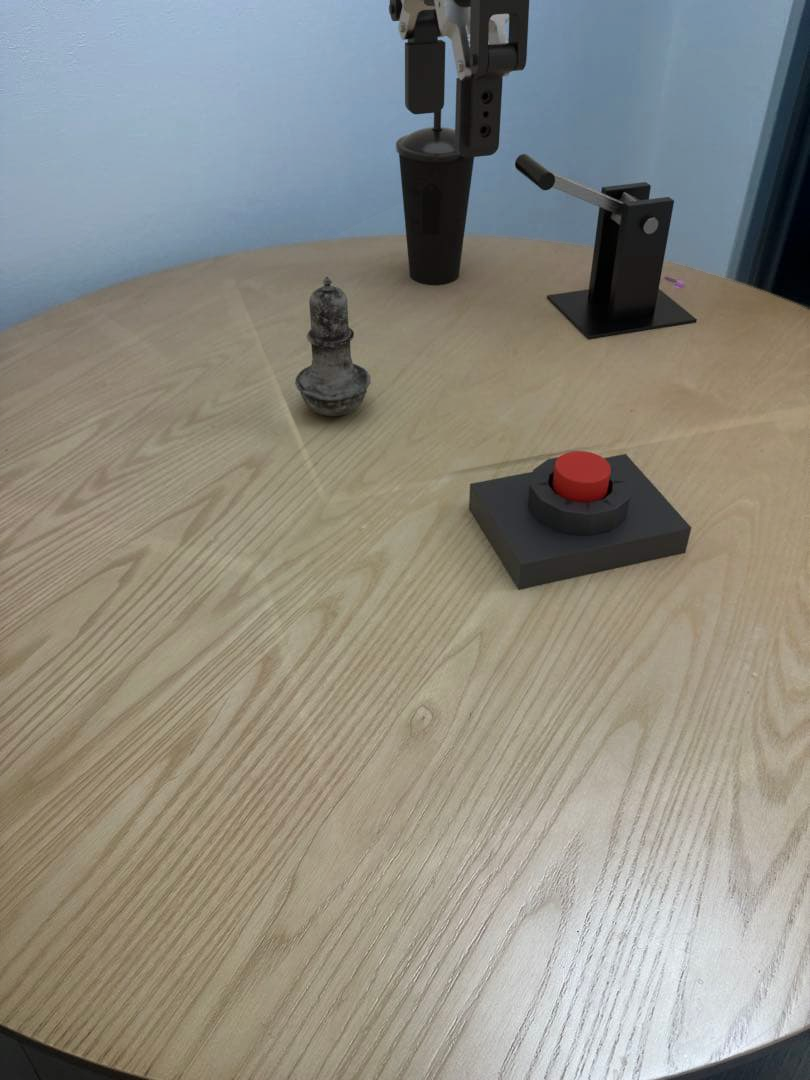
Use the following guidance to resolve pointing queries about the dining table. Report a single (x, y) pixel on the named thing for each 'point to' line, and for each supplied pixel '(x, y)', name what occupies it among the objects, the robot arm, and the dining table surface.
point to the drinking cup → (434, 202)
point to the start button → (581, 476)
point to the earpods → (678, 283)
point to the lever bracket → (626, 271)
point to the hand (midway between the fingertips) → (448, 131)
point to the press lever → (570, 186)
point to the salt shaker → (331, 357)
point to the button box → (575, 524)
